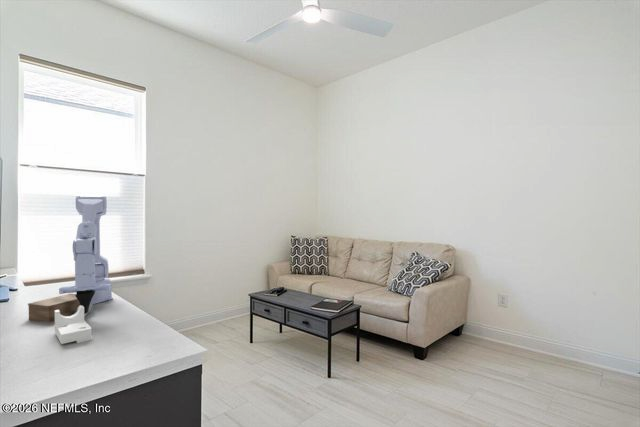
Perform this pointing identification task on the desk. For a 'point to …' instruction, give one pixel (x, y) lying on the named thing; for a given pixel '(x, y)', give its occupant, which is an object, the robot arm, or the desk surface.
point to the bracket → (72, 327)
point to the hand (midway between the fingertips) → (85, 312)
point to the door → (88, 310)
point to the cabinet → (53, 308)
